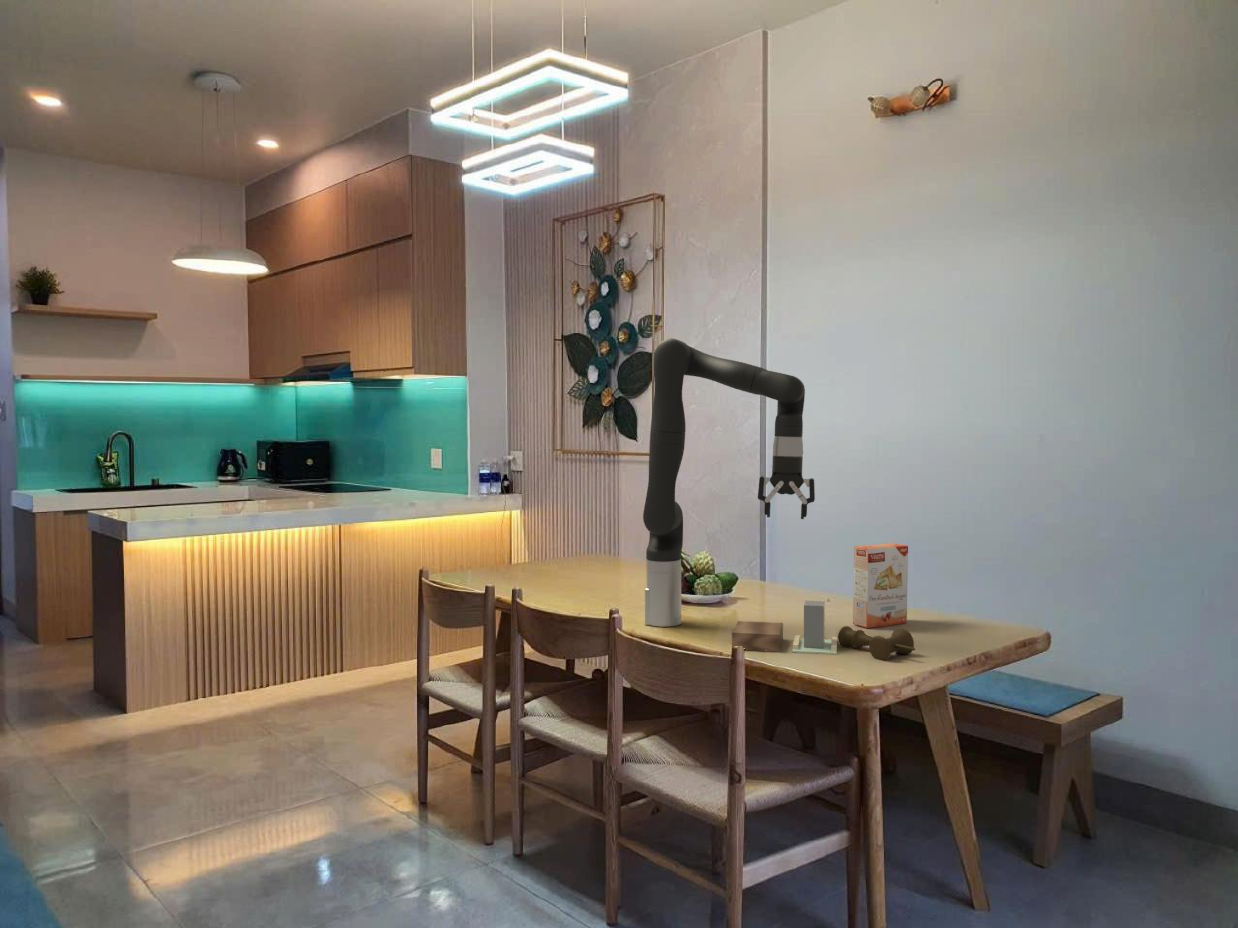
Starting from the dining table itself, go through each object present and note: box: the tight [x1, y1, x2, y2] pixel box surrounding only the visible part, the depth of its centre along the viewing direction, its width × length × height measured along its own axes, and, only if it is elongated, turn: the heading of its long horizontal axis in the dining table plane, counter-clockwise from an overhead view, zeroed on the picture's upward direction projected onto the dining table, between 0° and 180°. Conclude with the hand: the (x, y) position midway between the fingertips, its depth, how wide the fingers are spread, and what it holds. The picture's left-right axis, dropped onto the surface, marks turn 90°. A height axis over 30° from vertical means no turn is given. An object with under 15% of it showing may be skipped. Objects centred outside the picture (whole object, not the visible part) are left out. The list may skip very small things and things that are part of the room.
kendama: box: [837, 625, 916, 661], centre depth 214 cm, size 6×10×20 cm
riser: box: [731, 620, 784, 652], centre depth 224 cm, size 11×13×4 cm
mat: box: [792, 634, 838, 655], centre depth 221 cm, size 10×13×1 cm
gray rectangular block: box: [803, 600, 826, 649], centre depth 221 cm, size 4×6×10 cm
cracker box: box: [852, 542, 909, 629], centre depth 245 cm, size 14×6×21 cm, turn 117°
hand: (785, 518), depth 238 cm, fingers open, 8 cm apart
